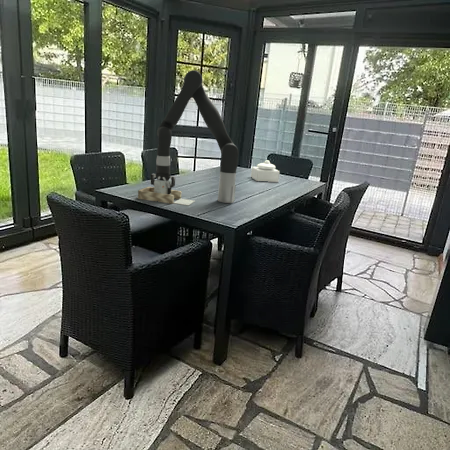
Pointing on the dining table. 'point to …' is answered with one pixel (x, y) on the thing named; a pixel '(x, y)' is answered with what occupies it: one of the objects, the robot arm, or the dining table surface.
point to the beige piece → (158, 195)
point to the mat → (184, 202)
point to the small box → (161, 186)
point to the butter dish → (265, 172)
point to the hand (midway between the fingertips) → (162, 193)
